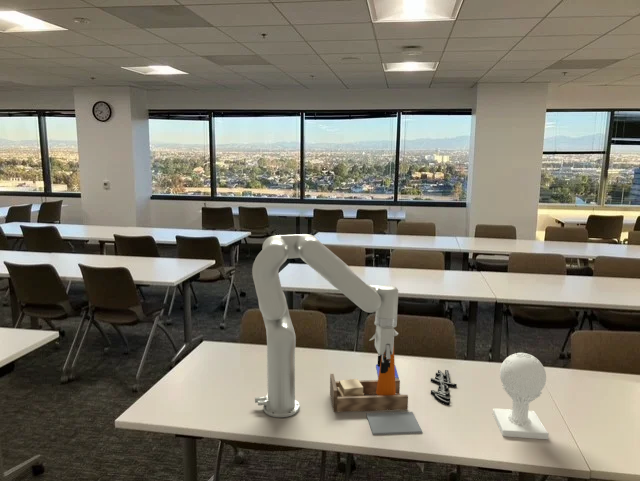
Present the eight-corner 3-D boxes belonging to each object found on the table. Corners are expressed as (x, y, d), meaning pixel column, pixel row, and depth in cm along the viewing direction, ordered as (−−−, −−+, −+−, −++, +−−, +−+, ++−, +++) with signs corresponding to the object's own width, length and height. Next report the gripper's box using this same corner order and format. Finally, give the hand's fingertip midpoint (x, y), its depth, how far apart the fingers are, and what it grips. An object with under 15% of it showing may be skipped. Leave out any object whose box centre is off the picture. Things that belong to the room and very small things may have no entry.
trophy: (501, 436, 149) (508, 362, 145) (491, 413, 163) (496, 345, 159) (548, 440, 148) (556, 365, 143) (533, 416, 161) (540, 347, 157)
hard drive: (399, 377, 187) (395, 364, 199) (378, 377, 188) (375, 364, 200) (398, 381, 188) (395, 368, 200) (378, 380, 188) (375, 367, 200)
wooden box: (333, 412, 163) (333, 390, 162) (330, 393, 176) (330, 373, 174) (407, 409, 165) (408, 388, 164) (398, 391, 178) (399, 371, 176)
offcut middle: (342, 403, 165) (342, 396, 165) (336, 393, 172) (336, 387, 172) (363, 400, 167) (364, 394, 167) (357, 391, 174) (357, 385, 174)
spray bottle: (369, 385, 176) (373, 317, 172) (398, 392, 171) (402, 322, 167) (363, 393, 169) (366, 322, 166) (392, 400, 165) (396, 327, 161)
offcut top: (344, 395, 165) (344, 389, 165) (339, 387, 172) (339, 380, 172) (363, 393, 167) (363, 387, 167) (357, 385, 174) (357, 378, 173)
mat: (372, 434, 149) (372, 433, 149) (366, 414, 161) (366, 413, 161) (422, 432, 151) (422, 431, 151) (412, 413, 162) (412, 411, 162)
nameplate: (460, 403, 167) (431, 400, 169) (460, 407, 167) (431, 404, 169) (453, 370, 194) (428, 368, 196) (453, 374, 194) (428, 371, 196)
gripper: (371, 313, 174) (368, 359, 177) (380, 329, 157) (377, 380, 160) (391, 313, 174) (388, 359, 177) (402, 329, 158) (399, 380, 161)
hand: (383, 369), depth 169 cm, fingers closed on spray bottle, 4 cm apart
